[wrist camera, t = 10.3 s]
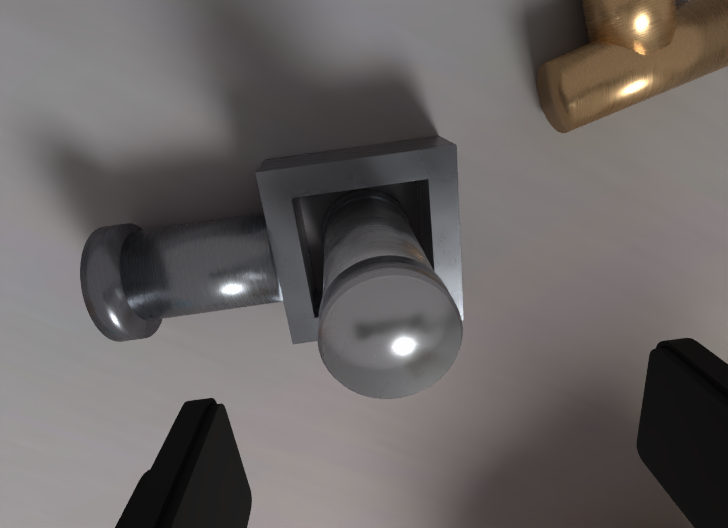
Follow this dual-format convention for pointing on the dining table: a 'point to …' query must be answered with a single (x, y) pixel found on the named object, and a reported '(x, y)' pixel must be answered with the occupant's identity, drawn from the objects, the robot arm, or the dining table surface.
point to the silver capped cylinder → (382, 302)
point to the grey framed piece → (264, 243)
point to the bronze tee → (632, 57)
